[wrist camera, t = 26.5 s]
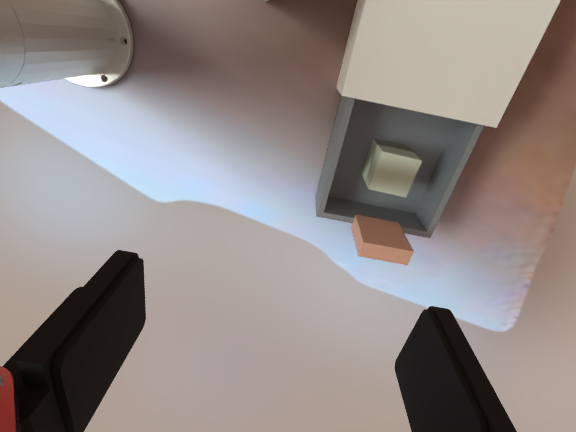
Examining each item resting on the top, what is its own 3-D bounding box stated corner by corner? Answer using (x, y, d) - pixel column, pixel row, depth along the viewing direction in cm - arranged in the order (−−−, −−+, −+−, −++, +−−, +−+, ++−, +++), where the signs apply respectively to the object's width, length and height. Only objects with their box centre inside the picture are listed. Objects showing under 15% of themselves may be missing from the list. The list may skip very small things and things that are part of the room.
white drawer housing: (336, 87, 41) (341, 95, 35) (376, -76, 33) (392, -104, 27) (468, 115, 42) (496, 127, 35) (537, -38, 34) (589, -56, 28)
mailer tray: (314, 200, 49) (317, 248, 37) (347, 69, 40) (364, 80, 28) (415, 220, 49) (447, 272, 38) (470, 95, 40) (533, 115, 29)
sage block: (372, 138, 43) (382, 151, 38) (408, 146, 43) (422, 160, 38) (360, 172, 45) (368, 189, 40) (394, 179, 46) (405, 197, 40)
